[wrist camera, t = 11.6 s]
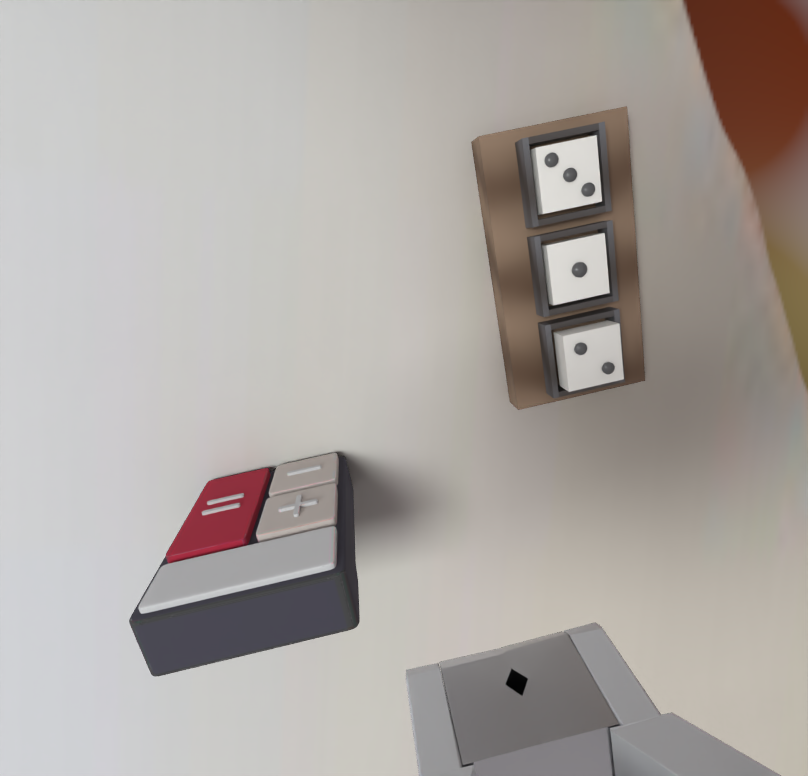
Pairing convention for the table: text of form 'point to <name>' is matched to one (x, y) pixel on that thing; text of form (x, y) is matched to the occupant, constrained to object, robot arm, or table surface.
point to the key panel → (526, 231)
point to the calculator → (254, 568)
